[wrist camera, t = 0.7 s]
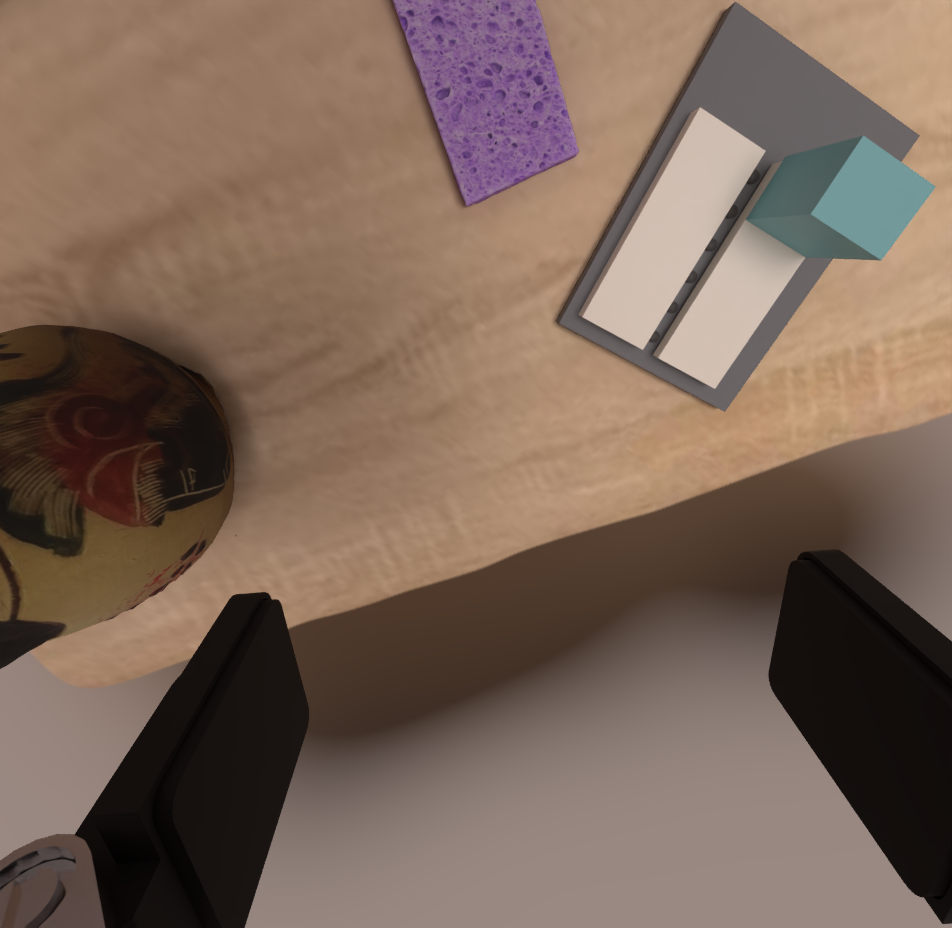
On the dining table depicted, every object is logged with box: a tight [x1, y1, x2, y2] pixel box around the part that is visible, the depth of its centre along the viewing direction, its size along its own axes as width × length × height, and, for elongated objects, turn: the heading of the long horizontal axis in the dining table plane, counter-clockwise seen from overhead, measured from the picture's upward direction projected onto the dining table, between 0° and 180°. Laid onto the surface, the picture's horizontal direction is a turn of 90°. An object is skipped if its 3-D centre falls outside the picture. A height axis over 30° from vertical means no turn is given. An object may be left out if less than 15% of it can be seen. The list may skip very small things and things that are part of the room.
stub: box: [653, 136, 936, 389], centre depth 29 cm, size 12×4×7 cm, turn 153°
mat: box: [556, 2, 920, 412], centre depth 32 cm, size 18×13×1 cm
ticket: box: [578, 107, 765, 350], centre depth 31 cm, size 12×5×1 cm, turn 153°
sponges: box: [393, 0, 579, 207], centre depth 28 cm, size 7×13×2 cm, turn 21°
